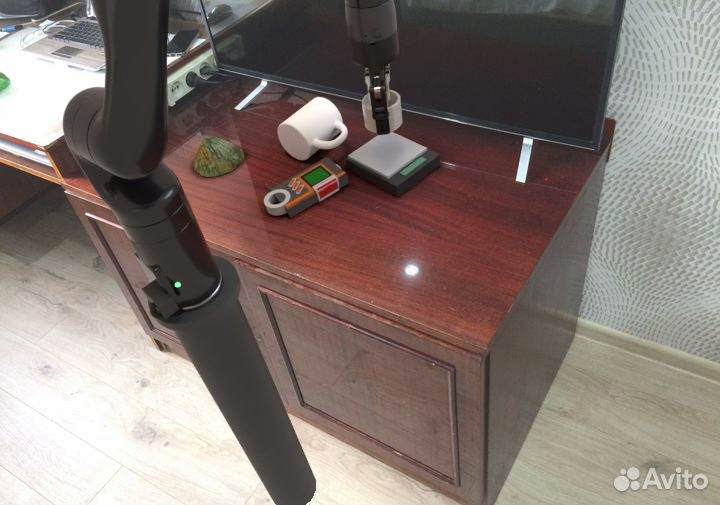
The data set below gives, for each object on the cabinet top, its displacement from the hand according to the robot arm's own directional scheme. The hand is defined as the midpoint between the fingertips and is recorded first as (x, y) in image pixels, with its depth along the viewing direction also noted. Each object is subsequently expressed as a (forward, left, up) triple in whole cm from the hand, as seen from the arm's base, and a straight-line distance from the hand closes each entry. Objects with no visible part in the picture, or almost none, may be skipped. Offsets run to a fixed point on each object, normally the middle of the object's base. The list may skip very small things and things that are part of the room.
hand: (383, 121), depth 101 cm
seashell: (-19, +28, -9) cm, 35 cm away
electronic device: (-15, +6, -9) cm, 19 cm away
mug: (-4, +14, -9) cm, 17 cm away
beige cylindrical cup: (0, 0, -1) cm, 1 cm away
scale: (0, -1, -9) cm, 9 cm away
